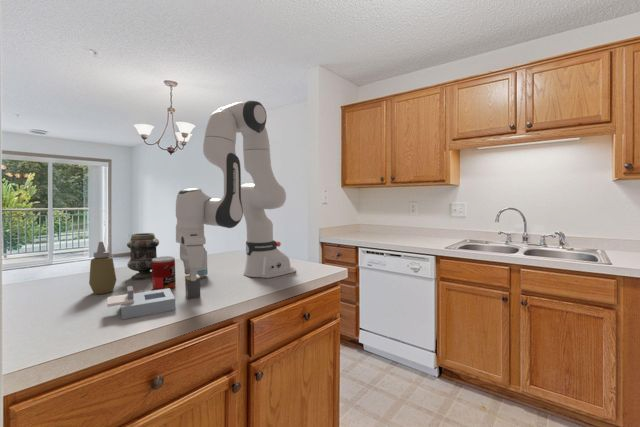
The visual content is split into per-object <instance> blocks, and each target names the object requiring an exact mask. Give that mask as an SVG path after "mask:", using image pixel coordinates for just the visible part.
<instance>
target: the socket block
mask: <svg viewBox="0 0 640 427" xmlns="http://www.w3.org/2000/svg"><path fill="white" fill-rule="evenodd" d="M133 296H134V303H128V304H122V305H120V309H121V320H122V321H123V320H129V319H133V318H137V317H139V318H140V317H142V316H149V315H155V314H159V313H165V312H172V311H175V310H176V309H177V308H176V306H177V305H176V298H175V296H174V294H173V292H172V289H170V288H167V289H161V290H154V289H153V290H149V291H143V292H136V293H135V292H133Z"/></svg>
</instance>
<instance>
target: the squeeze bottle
mask: <svg viewBox="0 0 640 427" xmlns="http://www.w3.org/2000/svg"><path fill="white" fill-rule="evenodd" d="M96 250H97V251H95V252H93V258H92V259H91V260H90V265H89V267H90V268H89V278H88V279H89V282H88V284H89V286H90V290H92V292H93V294H94V295H102V294H107V293H111V292H113V291H114V290H115V286H116V283H117V276H116V270H115V264H114V258H112V257H111V256H110V251H109V250H106V247H105V243H104V242H103V241H99V242H98V246H97V249H96Z"/></svg>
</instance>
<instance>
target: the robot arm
mask: <svg viewBox="0 0 640 427" xmlns="http://www.w3.org/2000/svg"><path fill="white" fill-rule="evenodd" d="M266 124H267V111H266V108H265V106H264V105H263V104H262V103H261V102H259V101H257V100H256V101H255V100H247V101H240V102H234V103H232V104H228V105H224V106H221V107H220V108H218V109H217V110H215V111H214V112H212V113H211V115H210V116H209V118H208V122H207V125H206V127H205V132H204V137H203V144H202V148H203V149H202V150H203V151H202V153H203V155H204V157H205V159H206V160H207V161H208V162H209V163H211V164H212V165H214V166H216V167H217V168H219V169H220V170H221V172H223V197H222V198H215V197H214V198H213V197H211V196H209V195H208V194H206V193H205V192H203V190H202V189H201V188H199V187H191V188H185V189H181V190H180V191H178V193H177V195H176V200H175V217H176V224H175V225H176V226H175V242H176V243H177V244H179V258H180V260H181V261H182V263H183V269H184V274H185V276H188V275H190V280H191V281H195V280H196V279H197V271H198V269H200V268H202V265H203V255H204V248H205V247H204V245H206V243H207V242H206V236H205V225H207V226H212V227H213V226H216V227H222V228H226V229H233V228H235V227H236V226H238V225H239V223H240V222H241V221H242V218H243V216H244V220H245V224H246V241H245V254H246V260H245V266H244V267H245V268H244V270H243V275H245V277H249V278H250V277H251V278H264V279H271V278H274V277H279V276H283V275H288V274H293V273H295V272H297V271H296V268H295V267H294V266H292V265H291V261H290V258H289V256H288V255H287V254H285V253H284V252H282V251H281V250H280V249H278V247H281V242H280V241H276V240H274V231H273V230H274V228H273V226H274V225H273V222H272V220H271V219H269V217H268V216H267V214H266V212H265V210H275V209H279V208H281V207H282V206H284V204H285V202H286V199H287V193H286V191H285V188H284V187H283V186H282V185H281V184H280V183H279V181H278V180H277V179H276V177H275V174H274V172H273V167H272V160H271V148H270V138H269V134H268V131H267V128H266ZM238 133H241V136H242V154H243V156H242V157H243V166H244V167H243V168H244V170H245V172H247V173H248V174H249V175H250V176H251V179H252V181H253V183H251V182H249V183H243V184H242V178H241V177H242V175H241V173H242V172H241V170H242V169H241V162H240V158H239V157H238V156H237V152H236V143H237V142H236V141H237V134H238Z"/></svg>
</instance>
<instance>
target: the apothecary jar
mask: <svg viewBox="0 0 640 427" xmlns="http://www.w3.org/2000/svg"><path fill="white" fill-rule="evenodd" d="M159 244H160V240H159V239H158V238H157V237H156V236H155V233H154V232H138V233H133V234H131V235H130V239H129V240H127V242H126V247H127V248H129V249H130V259H129V260H128V261H127V264H126V266H127V268H128V269H130V270H132V271H135V272H137V273H134V274H133V275H132V276H131V277H130V279H131V280H136V281H137V280H147V279H152V259H153V258H157V257H158V255H157V247H158V246H159Z"/></svg>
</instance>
